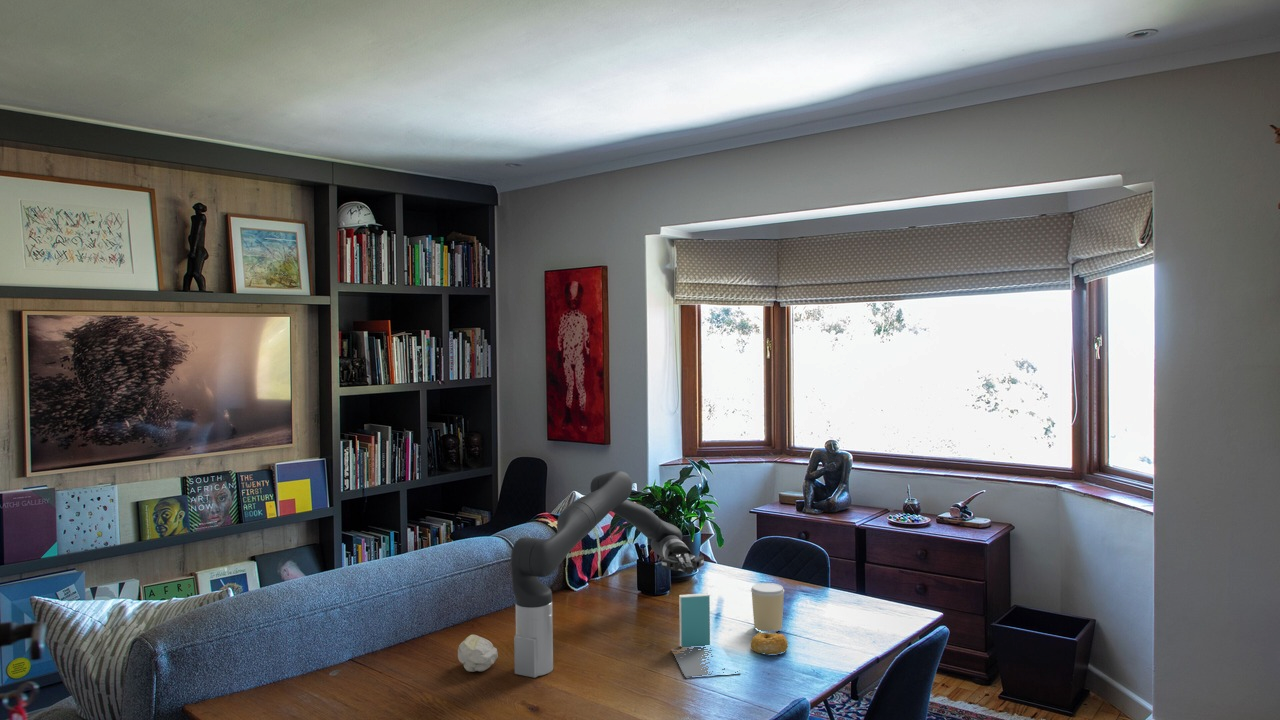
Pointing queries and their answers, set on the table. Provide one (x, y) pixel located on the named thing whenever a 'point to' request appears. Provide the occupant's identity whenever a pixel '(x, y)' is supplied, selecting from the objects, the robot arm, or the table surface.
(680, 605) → the tile
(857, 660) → the table surface
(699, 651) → the mat
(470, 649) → the white rock
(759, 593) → the coffee cup
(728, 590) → the table surface
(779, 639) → the bagel
